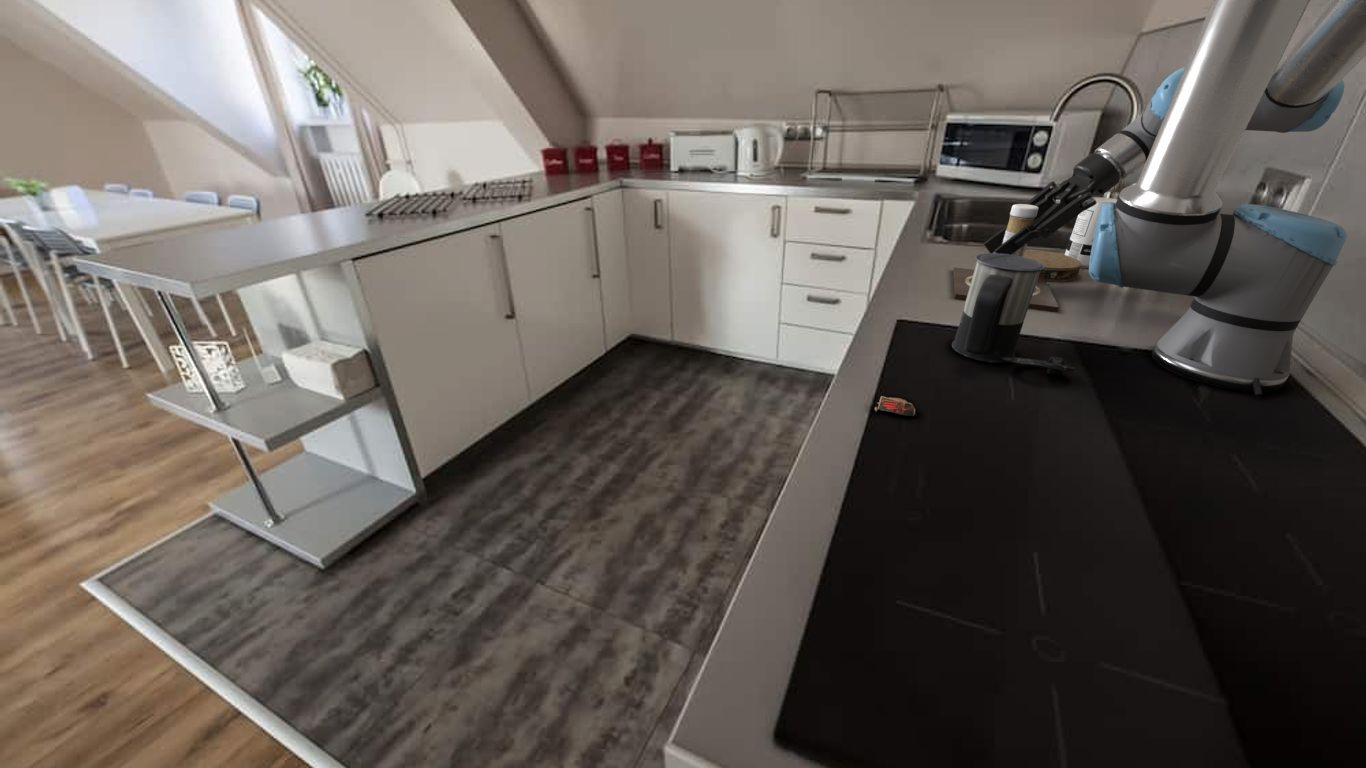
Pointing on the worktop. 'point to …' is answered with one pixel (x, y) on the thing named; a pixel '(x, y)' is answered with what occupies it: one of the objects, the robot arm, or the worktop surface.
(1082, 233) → the supplement can
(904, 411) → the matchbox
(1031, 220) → the sprinkles bottle
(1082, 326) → the worktop surface
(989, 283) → the milk frother
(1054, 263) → the brown round flat disc
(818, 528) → the worktop surface
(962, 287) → the serving tray
